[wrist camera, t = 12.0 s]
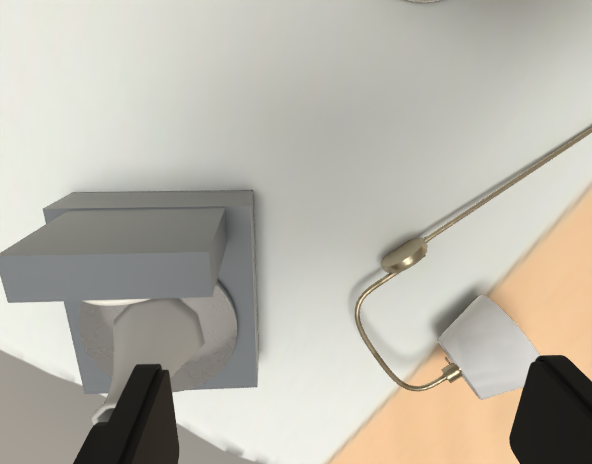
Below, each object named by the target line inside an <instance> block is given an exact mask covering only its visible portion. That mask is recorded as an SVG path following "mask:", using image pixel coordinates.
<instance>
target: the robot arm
mask: <svg viewBox="0 0 592 464" xmlns="http://www.w3.org/2000/svg"><path fill="white" fill-rule="evenodd" d="M407 1H412V2H420V3H427V2H438V1H441V0H407ZM509 439H510V446H511V449H512V451H513V453H514V455H515V456H516V458H517V459H518V461H519V463H520V464H592V381H591V380H590V379H589V378H588V377H586V376H585V375H584V374H583V373H582V372H581V371H580V370H579V369H578V368H577V367H576V366H575V365H574V364H573V363H572V362H571V361H570V360H569V359H568V358H567V357H565V356H562V355H546V356H538V357H537V358H536V360H535V362H532V363H531V364H530V367H529V370H528V374H527V377H526V381H525V384H524V388H523V391H522V395H521V398H520V402H519V405H518V409H517V412H516V416H515V419H514V423H513V426H512V430H511V433H510V438H509ZM178 458H179V442H178V435H177V427H176V419H175V412H174V404H173V396H172V389H171V381H170V374H169V370H162V366H161V364H137V365H135V367H134V369H133V371H132V373H131V375H130V377H129V379H128V381H127V383H126V385H125V387H124V389H123V392H122V394H121V396H120V398H119V400H118V402H117V404H116V406H115V408H114V410H113V412H112V414H111V417H110V419H109V421H108V422H97V423H96V424H95V425H94V426H93V428H92V429H91V430H90V432H89V434H88V436H87V438H86V440H85V442H84V444H83V446H82V448H81V449H80V452H79V453H78V455H77V457H76V459H75V461H74V463H73V464H178Z"/></svg>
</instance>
